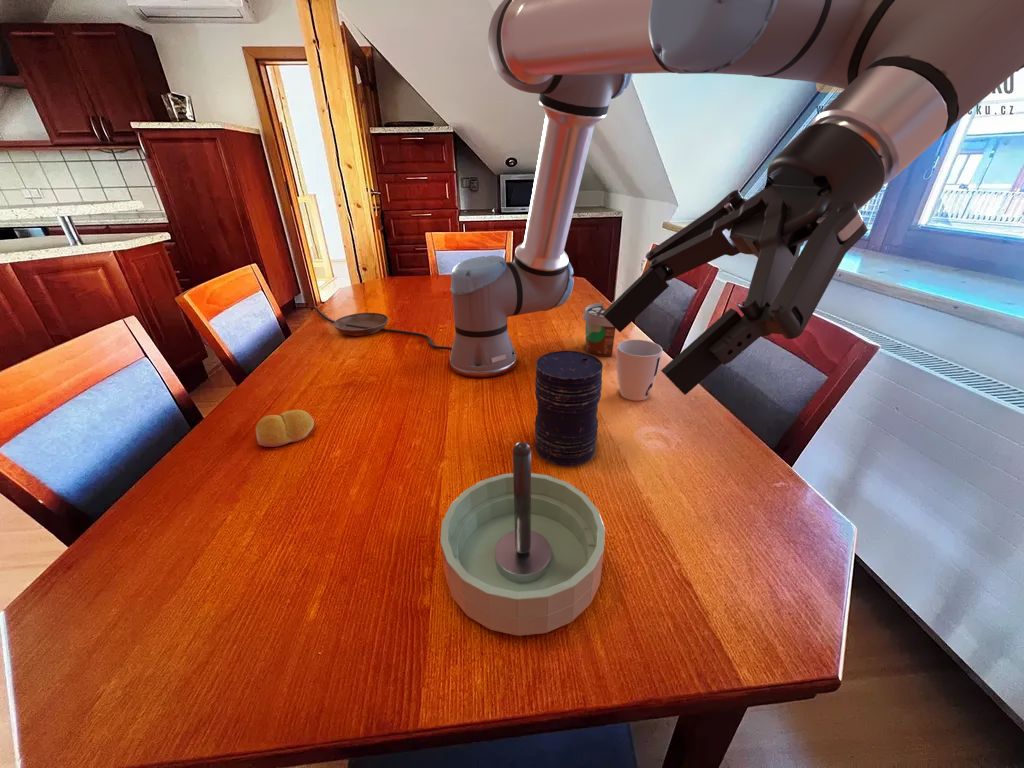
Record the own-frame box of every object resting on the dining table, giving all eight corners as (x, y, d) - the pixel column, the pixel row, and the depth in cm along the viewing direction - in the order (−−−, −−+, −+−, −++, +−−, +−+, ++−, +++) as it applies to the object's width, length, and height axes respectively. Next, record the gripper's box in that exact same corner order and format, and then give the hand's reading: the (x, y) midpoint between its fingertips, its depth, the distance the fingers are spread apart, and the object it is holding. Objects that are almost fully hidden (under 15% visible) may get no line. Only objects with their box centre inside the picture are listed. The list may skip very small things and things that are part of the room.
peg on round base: (483, 557, 49) (475, 442, 41) (524, 529, 52) (524, 418, 45) (520, 594, 44) (518, 473, 37) (562, 561, 48) (568, 444, 41)
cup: (657, 406, 79) (664, 357, 75) (612, 402, 81) (617, 354, 76) (653, 386, 86) (660, 340, 82) (612, 383, 88) (617, 338, 83)
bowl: (417, 557, 50) (410, 520, 47) (527, 489, 60) (527, 455, 57) (515, 679, 38) (514, 638, 35) (632, 568, 48) (638, 529, 45)
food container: (576, 340, 109) (578, 303, 105) (599, 339, 110) (602, 302, 105) (587, 360, 98) (590, 319, 94) (613, 359, 99) (617, 317, 94)
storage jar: (555, 474, 62) (558, 385, 56) (523, 440, 70) (522, 358, 63) (609, 454, 66) (618, 368, 60) (573, 424, 74) (577, 345, 67)
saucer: (400, 326, 122) (399, 317, 121) (359, 342, 111) (357, 333, 110) (366, 318, 129) (364, 309, 128) (324, 333, 118) (322, 323, 117)
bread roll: (319, 436, 73) (313, 416, 71) (260, 454, 68) (253, 434, 66) (310, 415, 79) (304, 396, 77) (256, 430, 74) (249, 411, 73)
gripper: (1056, 207, 24) (743, 452, 29) (761, 186, 45) (613, 327, 51) (1028, 92, 20) (683, 390, 26) (726, 129, 42) (572, 285, 48)
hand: (636, 348), depth 38 cm, fingers open, 13 cm apart
